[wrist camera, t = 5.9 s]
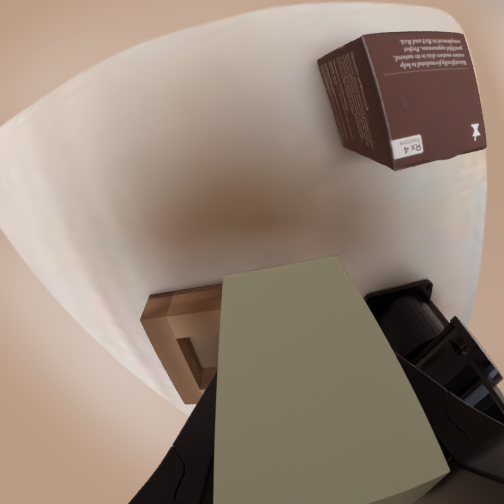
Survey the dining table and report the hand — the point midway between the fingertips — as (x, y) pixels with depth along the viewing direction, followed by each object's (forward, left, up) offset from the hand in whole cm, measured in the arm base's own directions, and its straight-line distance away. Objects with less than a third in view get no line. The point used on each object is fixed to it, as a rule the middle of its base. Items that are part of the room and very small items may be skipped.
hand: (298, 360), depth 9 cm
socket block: (+4, +9, -12) cm, 16 cm away
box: (-8, -7, -12) cm, 16 cm away
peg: (0, 0, -3) cm, 3 cm away
